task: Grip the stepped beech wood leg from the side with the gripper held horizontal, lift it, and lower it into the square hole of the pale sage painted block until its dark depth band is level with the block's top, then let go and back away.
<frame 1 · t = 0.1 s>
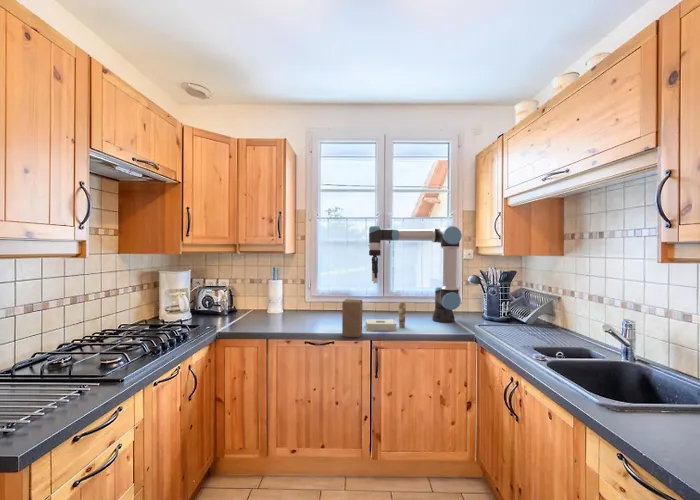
hand: (374, 282, 238), 28 cm above the worktop, tool pointing down, fingers open, 13 cm apart
beech leg: (401, 326, 232), on the worktop
wooden block: (352, 335, 212), on the worktop
socket block: (380, 328, 229), on the worktop
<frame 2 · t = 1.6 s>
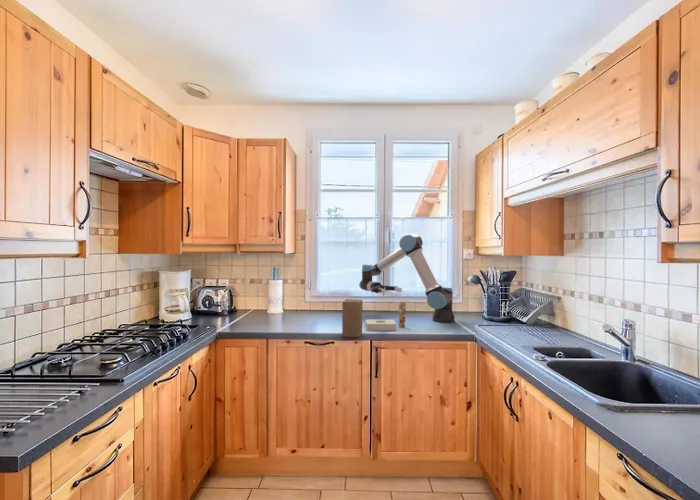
hand: (393, 290, 240), 22 cm above the worktop, tool horizontal, fingers open, 13 cm apart
nothing on the worktop moved.
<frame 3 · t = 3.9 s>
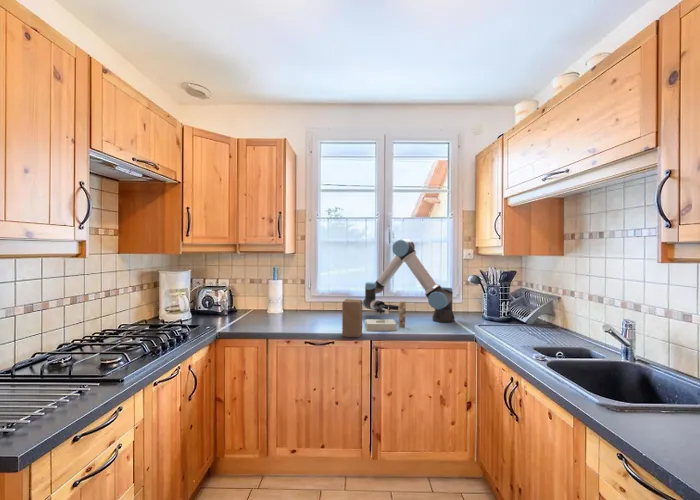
hand: (396, 311, 236), 9 cm above the worktop, tool horizontal, fingers open, 13 cm apart
nothing on the worktop moved.
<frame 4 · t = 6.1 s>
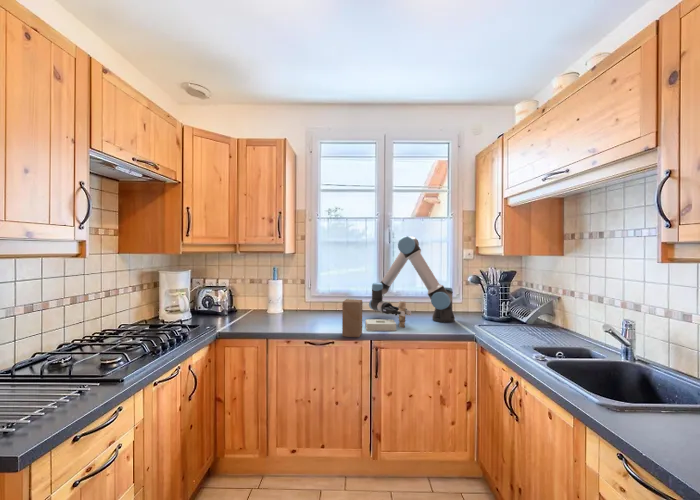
hand: (407, 313, 227), 10 cm above the worktop, tool horizontal, fingers closed on beech leg, 4 cm apart
beech leg: (401, 326, 232), on the worktop, touching gripper
everything else where it was.
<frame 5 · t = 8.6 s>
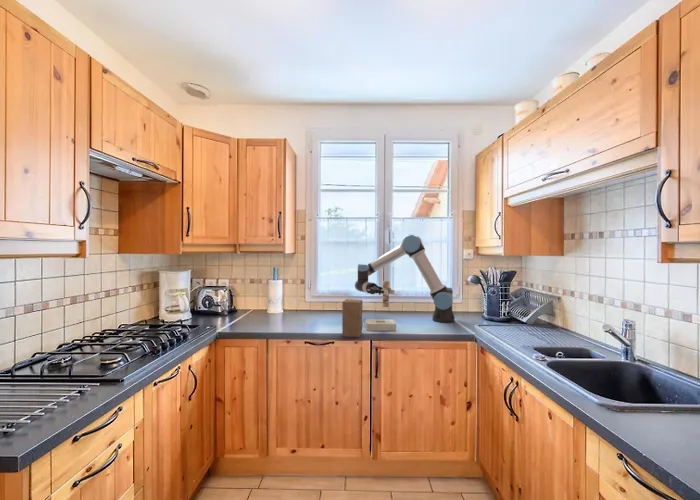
hand: (390, 292, 225), 23 cm above the worktop, tool horizontal, fingers closed on beech leg, 4 cm apart
beech leg: (385, 306, 230), point 13 cm above the worktop, touching gripper
everything else where it was.
when the fingers open (10 cm above the worktop, at t = 11.2 s): beech leg drops 1 cm, resting in socket block.
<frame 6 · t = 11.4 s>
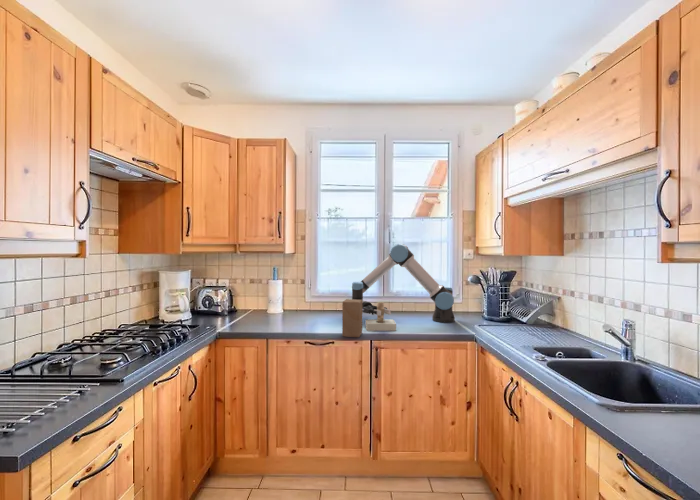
hand: (385, 312, 224), 10 cm above the worktop, tool horizontal, fingers open, 7 cm apart
beech leg: (380, 328, 229), resting in socket block
everything else where it was.
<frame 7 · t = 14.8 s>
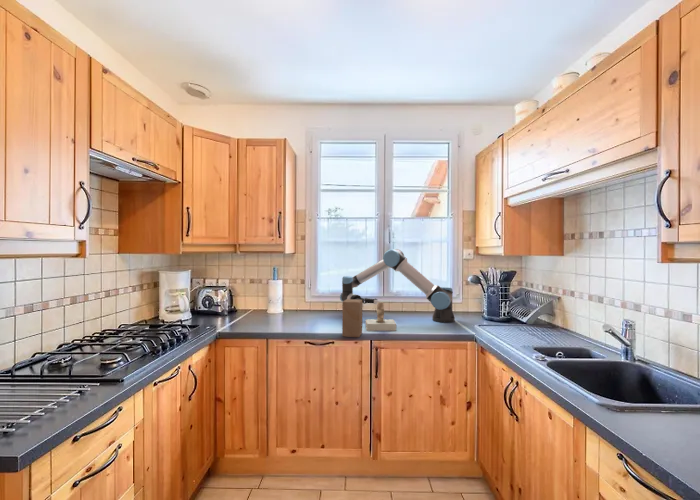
hand: (371, 304, 237), 14 cm above the worktop, tool horizontal, fingers open, 13 cm apart
nothing on the worktop moved.
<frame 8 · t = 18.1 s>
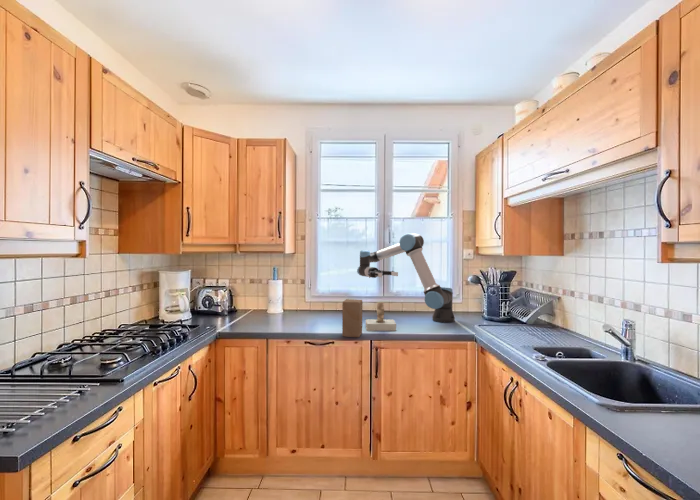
hand: (389, 274, 246), 32 cm above the worktop, tool horizontal, fingers open, 13 cm apart
nothing on the worktop moved.
at the end: beech leg 0.1 cm off-centre on the socket block, point 0.0 cm above the socket block's base; beech leg tilted 0°; the gripper is holding nothing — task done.
